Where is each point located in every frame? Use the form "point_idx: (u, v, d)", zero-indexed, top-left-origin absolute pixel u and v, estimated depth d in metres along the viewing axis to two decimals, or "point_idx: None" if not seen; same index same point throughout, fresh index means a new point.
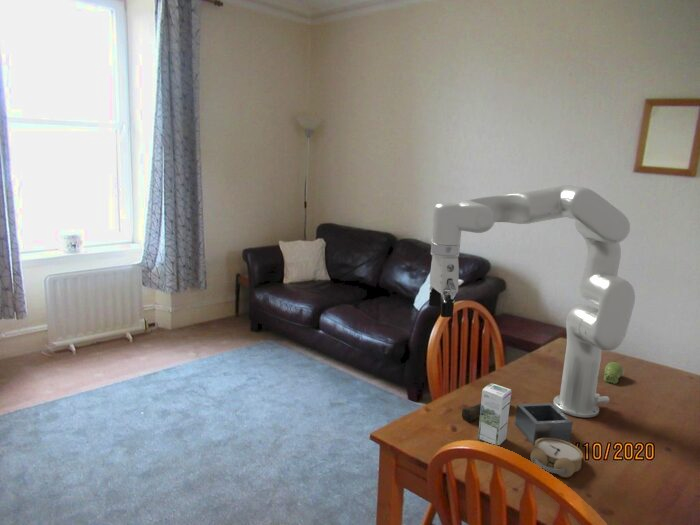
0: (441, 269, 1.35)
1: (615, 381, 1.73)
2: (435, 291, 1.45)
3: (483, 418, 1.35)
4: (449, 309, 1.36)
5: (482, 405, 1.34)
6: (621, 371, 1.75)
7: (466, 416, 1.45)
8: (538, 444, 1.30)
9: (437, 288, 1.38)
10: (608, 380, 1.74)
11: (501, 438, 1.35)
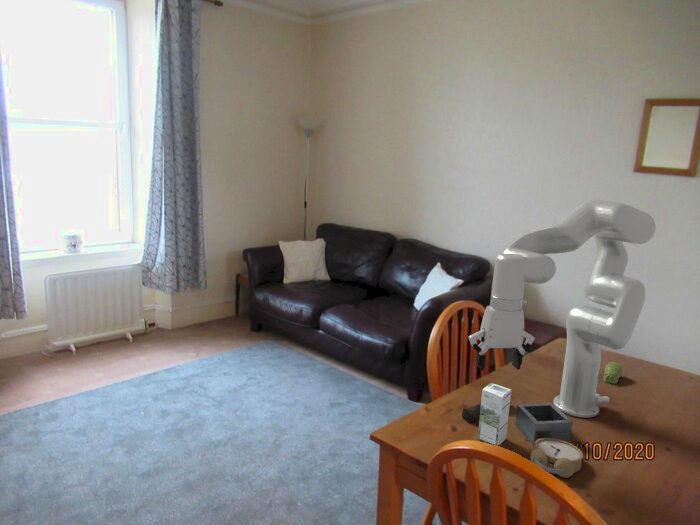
0: (522, 322, 1.29)
1: (615, 381, 1.73)
2: None
3: (483, 418, 1.35)
4: None
5: (482, 405, 1.34)
6: (621, 371, 1.75)
7: (466, 416, 1.45)
8: (538, 444, 1.30)
9: (514, 344, 1.29)
10: (608, 380, 1.74)
11: (501, 438, 1.35)
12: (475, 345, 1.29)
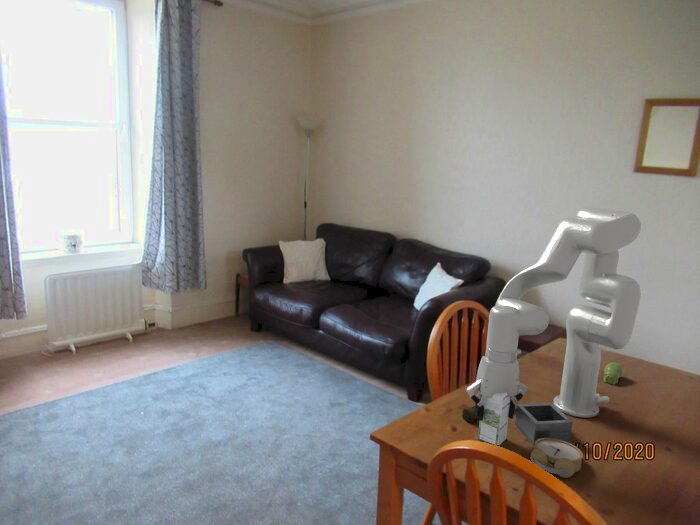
0: (517, 373, 1.32)
1: (615, 382, 1.73)
2: None
3: (483, 418, 1.35)
4: None
5: None
6: (621, 372, 1.75)
7: (467, 416, 1.45)
8: (538, 444, 1.30)
9: (509, 393, 1.32)
10: (608, 381, 1.74)
11: (501, 438, 1.35)
12: (473, 397, 1.33)
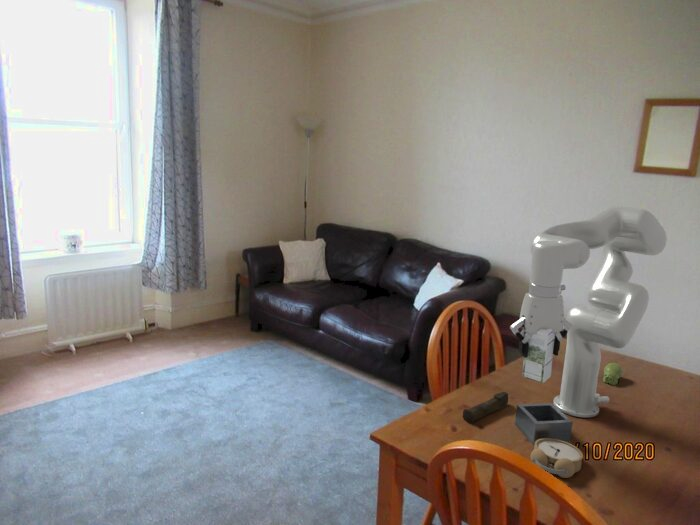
0: (562, 308, 1.31)
1: (614, 382, 1.72)
2: None
3: None
4: None
5: None
6: (620, 372, 1.75)
7: (467, 417, 1.45)
8: (538, 445, 1.30)
9: (554, 329, 1.32)
10: (607, 381, 1.73)
11: (547, 374, 1.34)
12: (518, 334, 1.32)
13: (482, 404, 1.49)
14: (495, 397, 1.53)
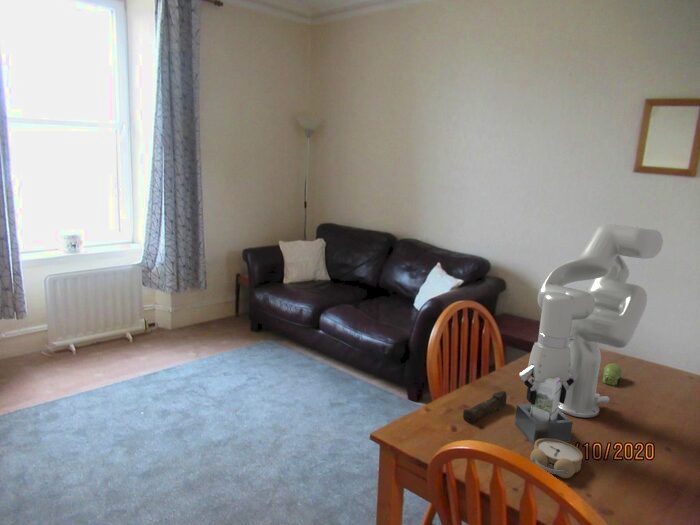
0: (569, 358, 1.35)
1: (614, 383, 1.72)
2: None
3: (535, 403, 1.38)
4: None
5: None
6: (620, 373, 1.74)
7: (468, 417, 1.45)
8: (538, 445, 1.30)
9: (561, 378, 1.36)
10: (607, 382, 1.73)
11: None
12: (526, 381, 1.36)
13: (482, 404, 1.49)
14: (494, 397, 1.53)
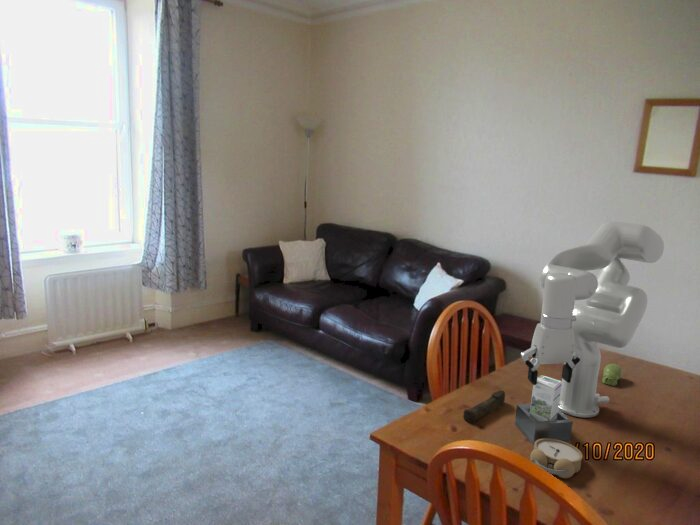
0: (572, 339, 1.34)
1: (614, 383, 1.72)
2: None
3: (533, 409, 1.38)
4: None
5: (533, 396, 1.38)
6: (620, 373, 1.74)
7: (469, 417, 1.45)
8: (538, 445, 1.30)
9: (564, 359, 1.35)
10: (607, 382, 1.73)
11: None
12: (527, 362, 1.35)
13: (481, 404, 1.49)
14: (493, 396, 1.53)
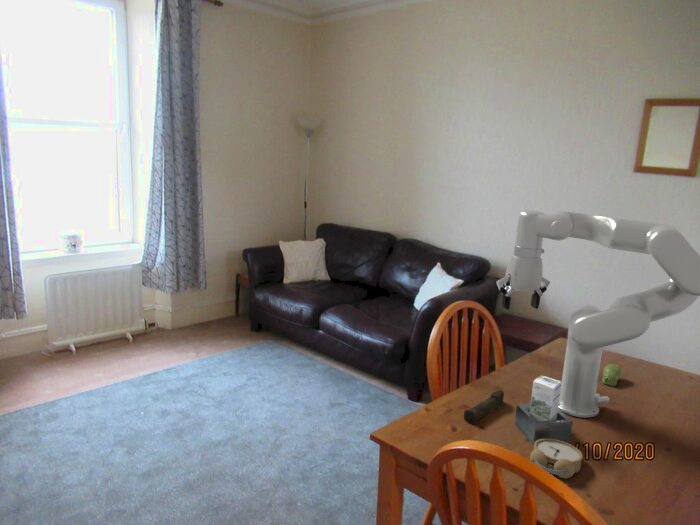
0: (541, 268, 1.53)
1: (614, 383, 1.71)
2: None
3: (533, 409, 1.38)
4: None
5: (532, 396, 1.38)
6: (620, 373, 1.74)
7: (469, 417, 1.44)
8: (537, 445, 1.30)
9: (534, 287, 1.54)
10: (607, 382, 1.72)
11: None
12: (502, 288, 1.54)
13: (481, 404, 1.49)
14: (492, 396, 1.53)
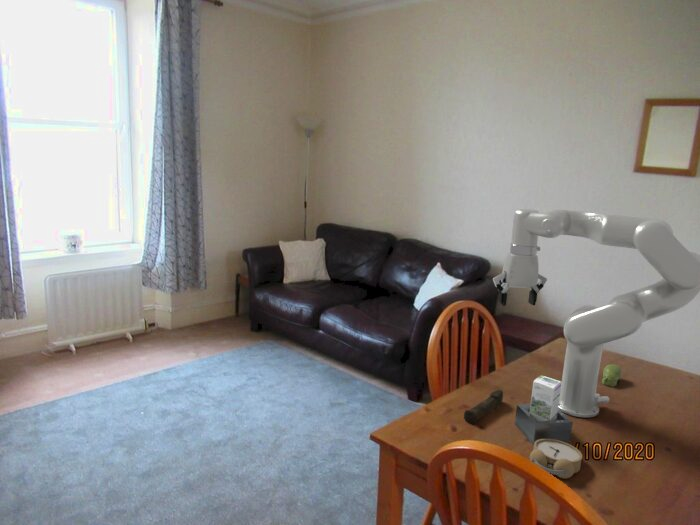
0: (537, 265, 1.57)
1: (613, 384, 1.71)
2: None
3: (533, 409, 1.38)
4: None
5: (532, 396, 1.38)
6: (620, 374, 1.73)
7: (470, 418, 1.44)
8: (537, 445, 1.30)
9: (530, 284, 1.58)
10: (606, 383, 1.72)
11: None
12: (498, 285, 1.58)
13: (481, 404, 1.49)
14: (492, 396, 1.53)
